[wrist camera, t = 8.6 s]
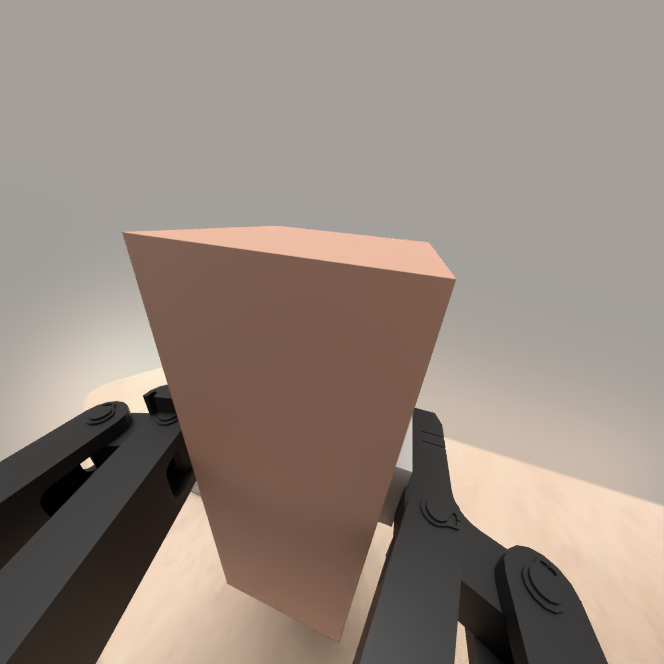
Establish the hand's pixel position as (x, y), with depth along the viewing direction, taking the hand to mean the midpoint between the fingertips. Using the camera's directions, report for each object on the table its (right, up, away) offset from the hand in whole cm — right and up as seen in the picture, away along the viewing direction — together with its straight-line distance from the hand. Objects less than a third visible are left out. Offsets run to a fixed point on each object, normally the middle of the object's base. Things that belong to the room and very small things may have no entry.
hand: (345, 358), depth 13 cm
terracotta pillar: (-2, -9, -1) cm, 9 cm away
